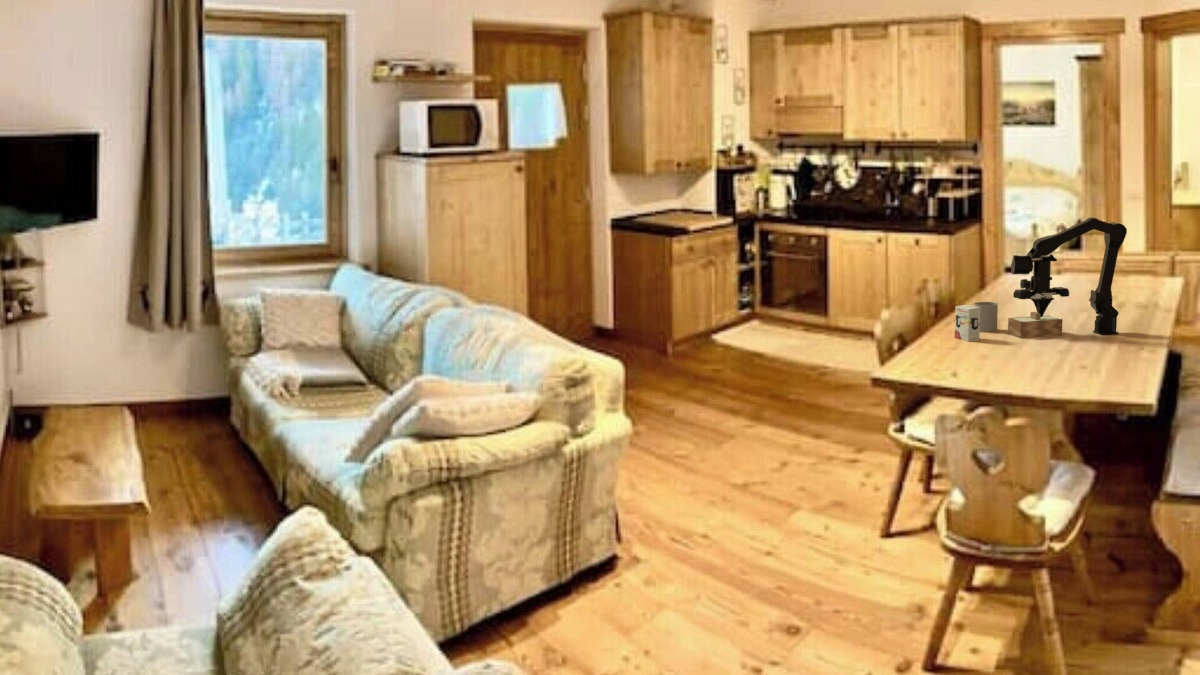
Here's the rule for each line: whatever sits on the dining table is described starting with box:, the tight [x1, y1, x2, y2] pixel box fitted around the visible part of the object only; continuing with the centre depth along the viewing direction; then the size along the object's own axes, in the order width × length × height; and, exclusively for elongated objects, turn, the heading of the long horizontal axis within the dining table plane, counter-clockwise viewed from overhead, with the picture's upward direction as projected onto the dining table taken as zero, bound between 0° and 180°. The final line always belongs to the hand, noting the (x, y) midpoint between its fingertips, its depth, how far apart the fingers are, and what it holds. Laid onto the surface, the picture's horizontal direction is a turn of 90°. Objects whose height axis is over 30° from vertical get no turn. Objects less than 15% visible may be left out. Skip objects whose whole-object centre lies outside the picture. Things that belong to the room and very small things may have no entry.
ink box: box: [954, 304, 981, 342], centre depth 429 cm, size 9×5×12 cm, turn 17°
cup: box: [973, 301, 999, 333], centre depth 445 cm, size 8×8×10 cm
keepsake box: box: [1007, 314, 1063, 339], centre depth 434 cm, size 16×9×6 cm, turn 99°
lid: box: [1011, 311, 1060, 322], centre depth 433 cm, size 15×8×3 cm, turn 99°
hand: (1040, 316), depth 434 cm, fingers closed
